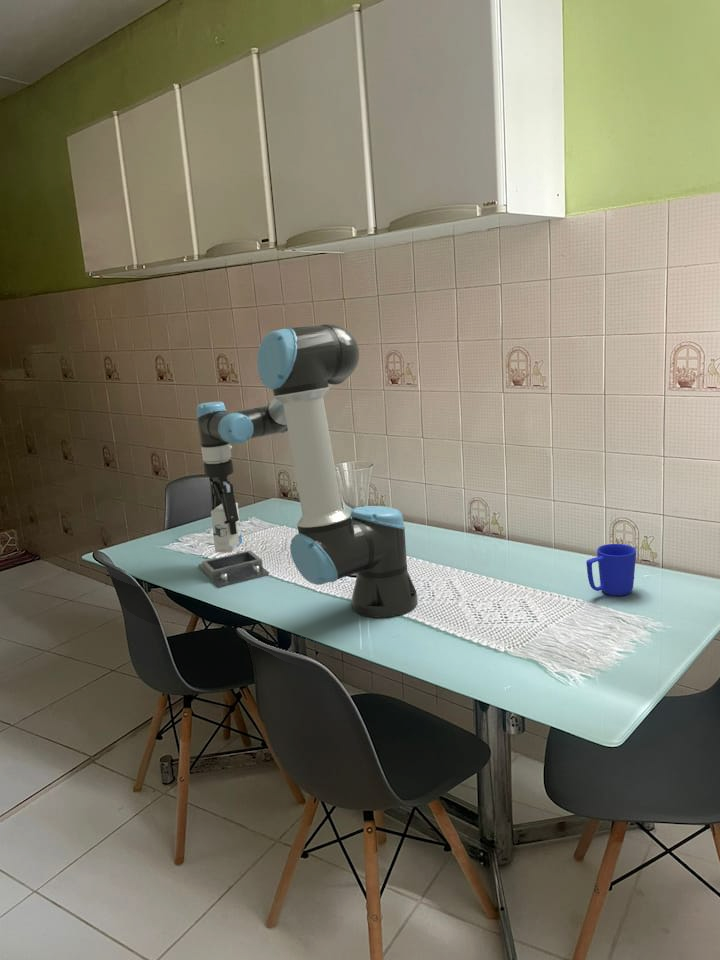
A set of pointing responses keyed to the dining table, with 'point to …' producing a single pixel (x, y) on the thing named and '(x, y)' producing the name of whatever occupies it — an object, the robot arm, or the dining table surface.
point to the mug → (614, 569)
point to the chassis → (233, 568)
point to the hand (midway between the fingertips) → (228, 540)
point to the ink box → (223, 530)
